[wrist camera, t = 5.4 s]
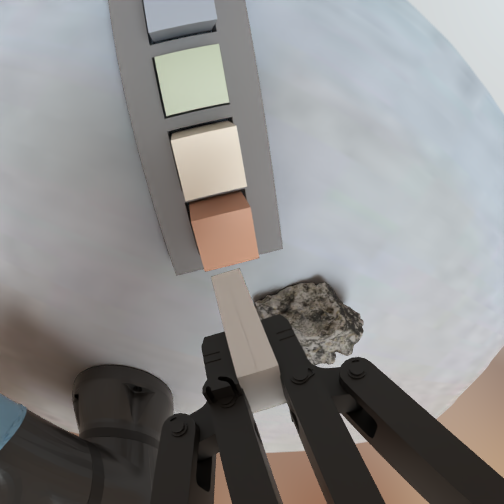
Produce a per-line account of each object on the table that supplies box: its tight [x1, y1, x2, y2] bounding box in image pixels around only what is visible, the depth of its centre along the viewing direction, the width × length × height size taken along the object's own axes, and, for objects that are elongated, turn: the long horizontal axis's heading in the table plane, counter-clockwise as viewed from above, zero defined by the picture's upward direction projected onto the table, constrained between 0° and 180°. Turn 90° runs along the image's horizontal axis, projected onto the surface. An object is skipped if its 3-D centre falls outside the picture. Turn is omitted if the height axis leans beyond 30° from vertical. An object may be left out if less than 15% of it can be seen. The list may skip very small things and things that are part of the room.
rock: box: [255, 282, 363, 365], centre depth 35 cm, size 13×10×10 cm
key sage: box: [154, 44, 229, 116], centre depth 20 cm, size 4×4×4 cm
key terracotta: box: [189, 190, 259, 272], centre depth 25 cm, size 4×4×4 cm
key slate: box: [143, 0, 217, 42], centre depth 16 cm, size 4×4×4 cm
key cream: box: [171, 121, 247, 201], centre depth 22 cm, size 4×4×4 cm
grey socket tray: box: [108, 0, 283, 276], centre depth 23 cm, size 10×26×3 cm, turn 9°
